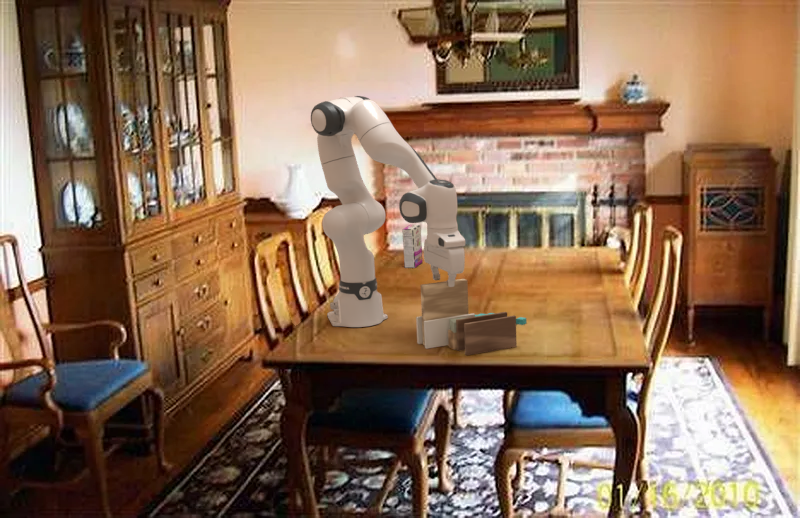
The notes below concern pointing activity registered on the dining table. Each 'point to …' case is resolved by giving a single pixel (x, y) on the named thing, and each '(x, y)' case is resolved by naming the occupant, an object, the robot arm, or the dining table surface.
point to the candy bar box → (412, 246)
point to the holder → (435, 330)
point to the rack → (486, 333)
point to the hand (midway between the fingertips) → (443, 283)
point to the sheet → (443, 300)
